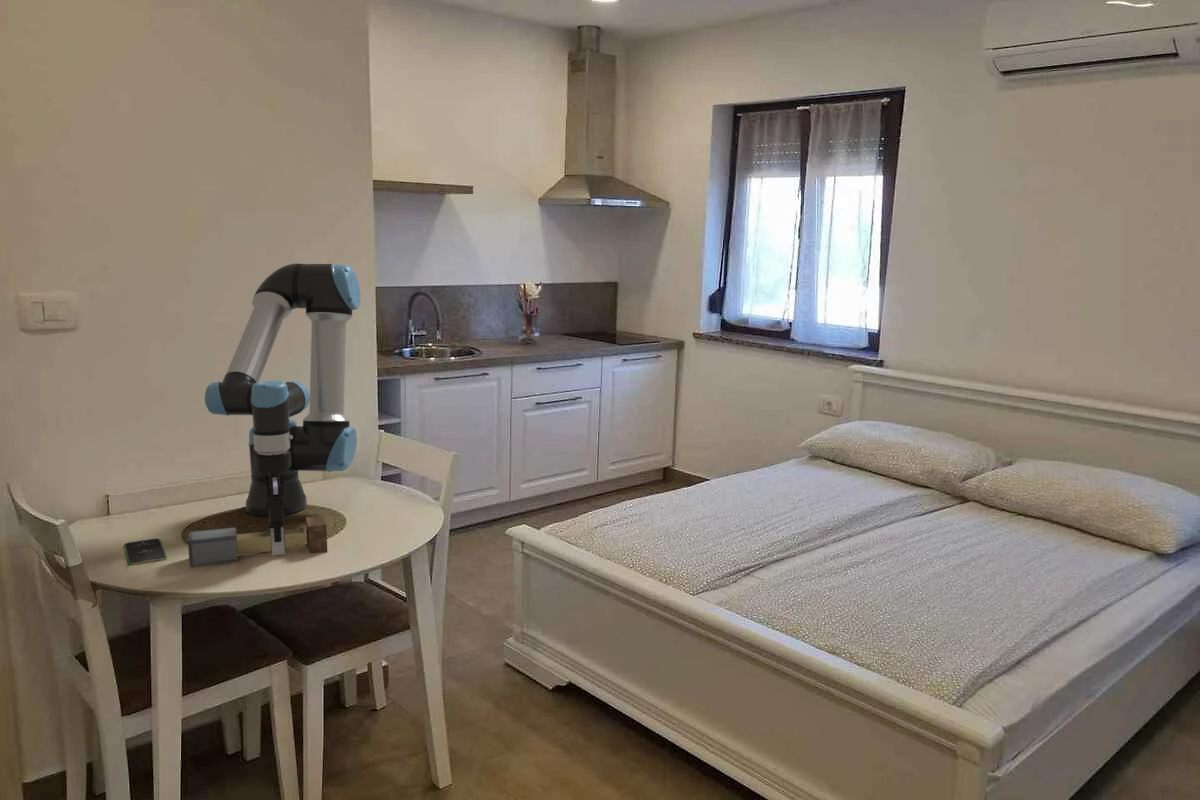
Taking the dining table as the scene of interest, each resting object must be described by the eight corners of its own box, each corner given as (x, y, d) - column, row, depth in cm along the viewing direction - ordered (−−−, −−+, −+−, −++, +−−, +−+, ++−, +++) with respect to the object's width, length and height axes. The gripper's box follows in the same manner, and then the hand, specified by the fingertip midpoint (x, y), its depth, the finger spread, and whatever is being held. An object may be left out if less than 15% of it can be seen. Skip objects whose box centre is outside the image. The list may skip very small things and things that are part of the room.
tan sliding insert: (216, 557, 188) (213, 518, 187) (216, 551, 192) (214, 513, 190) (305, 547, 196) (303, 509, 194) (303, 542, 199) (302, 504, 198)
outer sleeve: (189, 567, 186) (187, 541, 184) (191, 557, 191) (189, 532, 190) (237, 562, 189) (235, 536, 188) (237, 552, 195) (235, 527, 194)
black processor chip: (128, 563, 186) (123, 542, 198) (128, 567, 186) (123, 546, 198) (167, 557, 190) (159, 537, 202) (167, 561, 190) (160, 541, 202)
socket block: (309, 554, 195) (308, 526, 194) (307, 544, 201) (305, 517, 200) (327, 551, 196) (326, 524, 195) (324, 542, 203) (323, 515, 201)
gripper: (292, 458, 185) (297, 561, 189) (288, 441, 200) (293, 537, 205) (255, 461, 182) (261, 566, 186) (254, 443, 197) (259, 540, 202)
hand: (278, 550), depth 195 cm, fingers closed on tan sliding insert, 4 cm apart
